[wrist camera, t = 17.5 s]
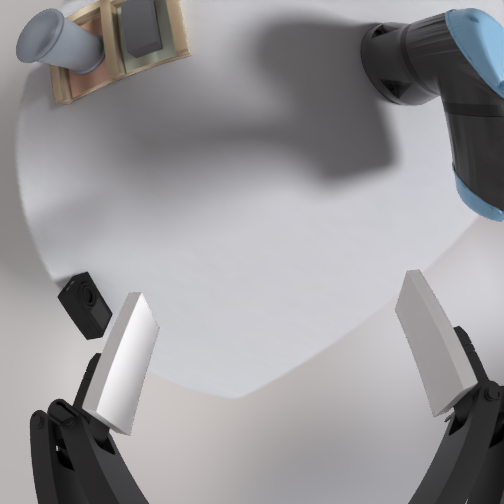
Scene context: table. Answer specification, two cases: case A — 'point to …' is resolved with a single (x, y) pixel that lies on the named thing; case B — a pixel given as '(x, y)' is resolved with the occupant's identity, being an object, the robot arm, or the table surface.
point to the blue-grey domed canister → (60, 43)
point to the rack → (119, 47)
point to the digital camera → (85, 306)
